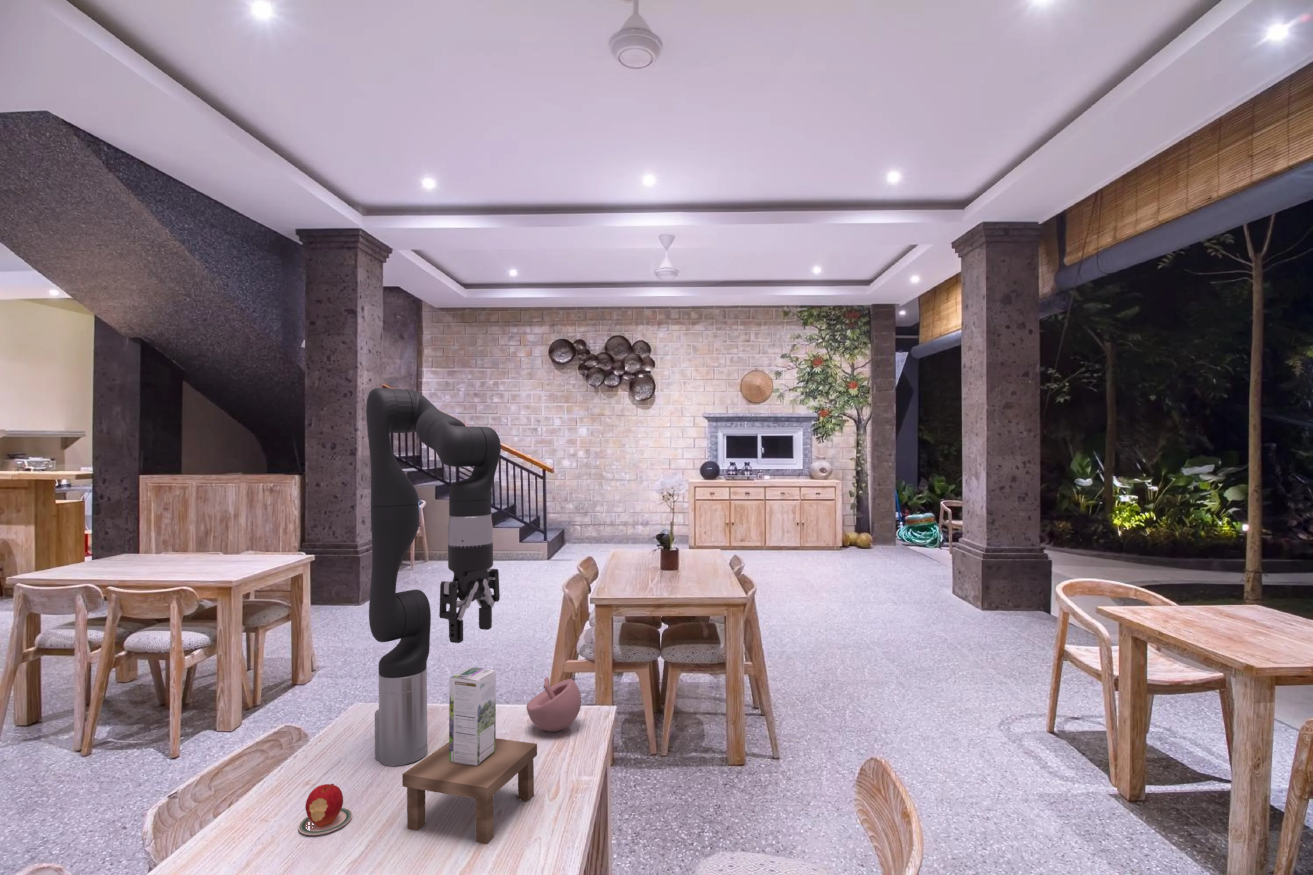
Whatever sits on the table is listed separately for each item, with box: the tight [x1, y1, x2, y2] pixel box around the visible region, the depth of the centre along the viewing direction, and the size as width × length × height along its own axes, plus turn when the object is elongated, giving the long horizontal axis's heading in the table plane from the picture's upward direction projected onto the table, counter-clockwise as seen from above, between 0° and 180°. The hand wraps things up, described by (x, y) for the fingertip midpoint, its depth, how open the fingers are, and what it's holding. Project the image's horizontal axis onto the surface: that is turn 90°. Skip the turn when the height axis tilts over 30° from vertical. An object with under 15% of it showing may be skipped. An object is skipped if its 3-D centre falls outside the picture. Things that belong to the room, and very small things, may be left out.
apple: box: [298, 783, 353, 836], centre depth 108 cm, size 8×8×6 cm
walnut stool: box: [401, 737, 538, 845], centre depth 110 cm, size 16×16×9 cm
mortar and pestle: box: [526, 677, 582, 733], centre depth 143 cm, size 12×12×12 cm
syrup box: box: [448, 666, 497, 766], centre depth 111 cm, size 6×6×14 cm
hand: (471, 635), depth 111 cm, fingers open, 8 cm apart
